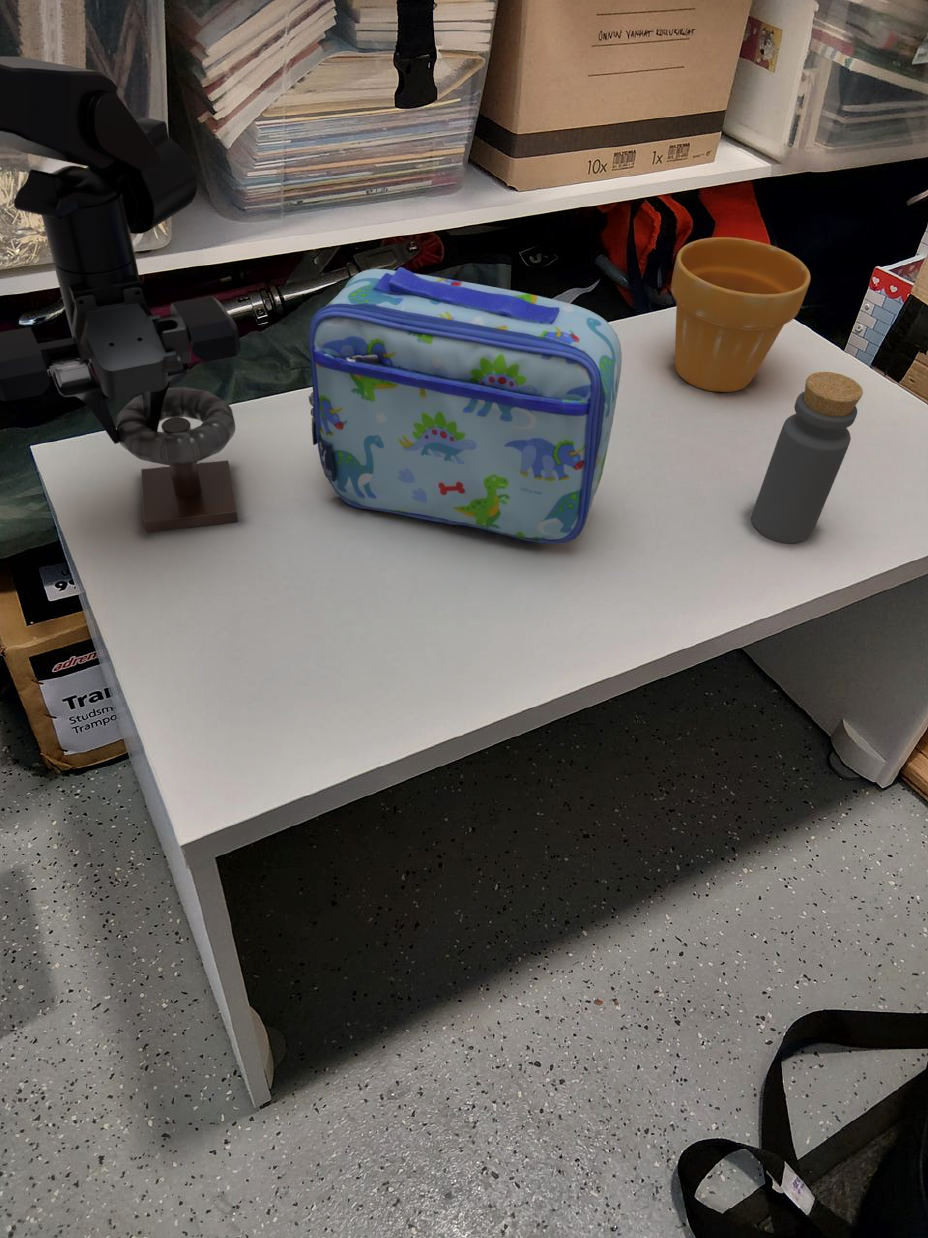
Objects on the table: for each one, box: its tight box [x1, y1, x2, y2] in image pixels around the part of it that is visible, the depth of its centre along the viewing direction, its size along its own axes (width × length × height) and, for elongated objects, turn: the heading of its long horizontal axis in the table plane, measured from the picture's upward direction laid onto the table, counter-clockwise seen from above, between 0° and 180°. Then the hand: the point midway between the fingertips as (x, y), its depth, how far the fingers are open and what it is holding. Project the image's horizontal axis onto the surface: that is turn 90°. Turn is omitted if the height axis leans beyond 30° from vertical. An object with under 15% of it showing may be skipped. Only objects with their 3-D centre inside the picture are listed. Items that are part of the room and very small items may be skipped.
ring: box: [115, 386, 236, 466], centre depth 81 cm, size 10×10×3 cm
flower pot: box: [670, 236, 811, 393], centre depth 104 cm, size 14×14×13 cm
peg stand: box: [140, 417, 239, 533], centre depth 84 cm, size 8×8×8 cm
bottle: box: [751, 371, 864, 544], centre depth 84 cm, size 6×6×15 cm
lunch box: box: [308, 266, 623, 545], centre depth 81 cm, size 26×11×21 cm, turn 72°
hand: (134, 436), depth 80 cm, fingers closed on ring, 3 cm apart
